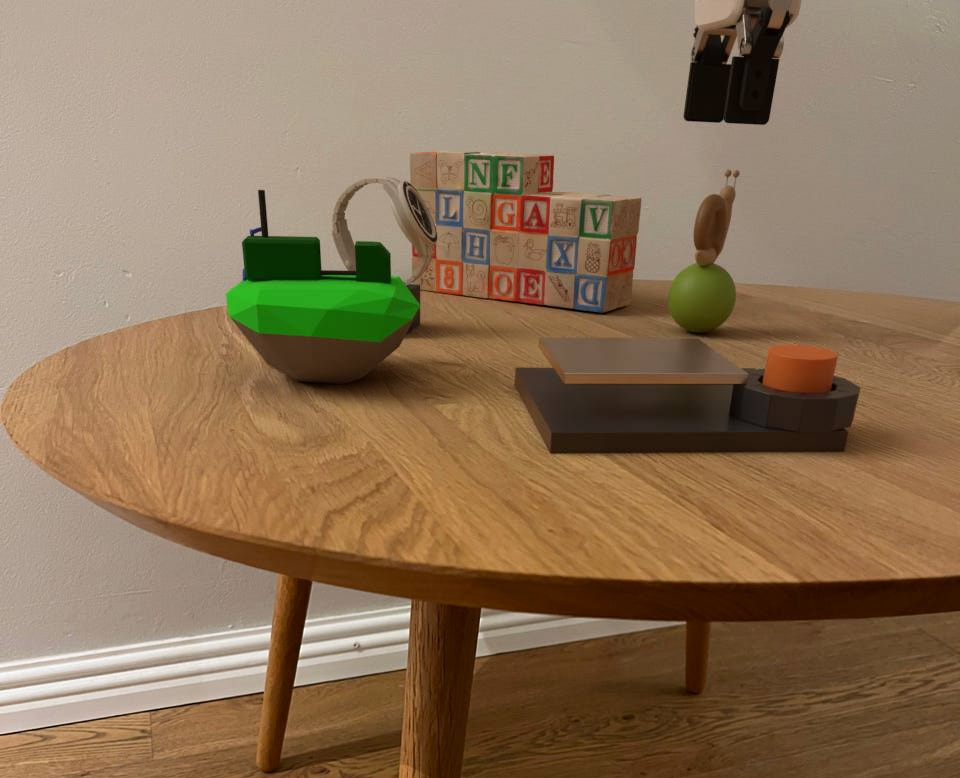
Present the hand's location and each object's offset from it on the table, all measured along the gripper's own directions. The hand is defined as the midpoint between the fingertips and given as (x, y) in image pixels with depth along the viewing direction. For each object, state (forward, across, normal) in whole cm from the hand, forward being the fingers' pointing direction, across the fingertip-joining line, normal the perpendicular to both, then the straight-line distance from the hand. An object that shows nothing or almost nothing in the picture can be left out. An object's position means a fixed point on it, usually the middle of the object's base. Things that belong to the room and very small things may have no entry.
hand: (722, 122), depth 70 cm
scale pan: (+12, -25, +11) cm, 30 cm away
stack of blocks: (+16, +16, +13) cm, 25 cm away
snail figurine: (+15, 0, -1) cm, 15 cm away
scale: (+15, -25, +9) cm, 31 cm away
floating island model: (+16, -16, +29) cm, 37 cm away
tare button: (+13, -29, +3) cm, 32 cm away
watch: (+16, 0, +25) cm, 30 cm away
